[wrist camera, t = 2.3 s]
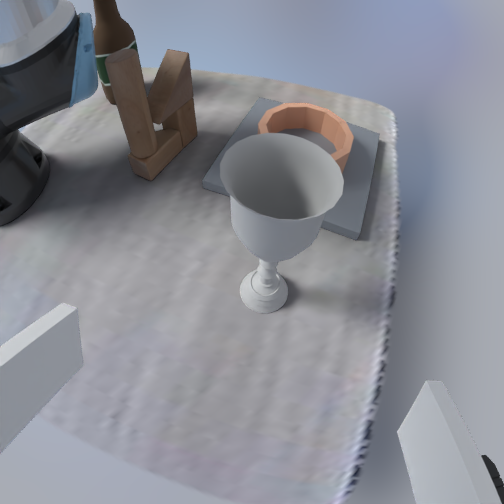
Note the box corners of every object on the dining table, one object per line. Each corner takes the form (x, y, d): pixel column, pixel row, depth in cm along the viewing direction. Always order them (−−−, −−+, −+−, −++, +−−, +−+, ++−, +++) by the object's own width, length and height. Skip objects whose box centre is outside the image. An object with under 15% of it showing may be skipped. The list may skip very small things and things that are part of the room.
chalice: (217, 303, 33) (196, 190, 17) (246, 251, 36) (250, 121, 20) (283, 333, 32) (323, 241, 16) (307, 277, 35) (355, 158, 19)
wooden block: (198, 135, 45) (187, 25, 30) (151, 182, 41) (118, 65, 25) (179, 128, 46) (164, 23, 30) (132, 173, 42) (96, 62, 26)
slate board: (203, 188, 40) (202, 180, 39) (259, 104, 50) (259, 97, 48) (356, 240, 37) (359, 233, 36) (376, 140, 46) (379, 134, 45)
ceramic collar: (244, 167, 40) (244, 144, 37) (274, 116, 46) (277, 95, 42) (335, 197, 38) (343, 175, 35) (351, 139, 44) (358, 119, 40)
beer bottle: (124, 109, 49) (94, -14, 28) (98, 101, 51) (67, -9, 30) (153, 87, 52) (135, -29, 31) (126, 80, 54) (104, -25, 33)
